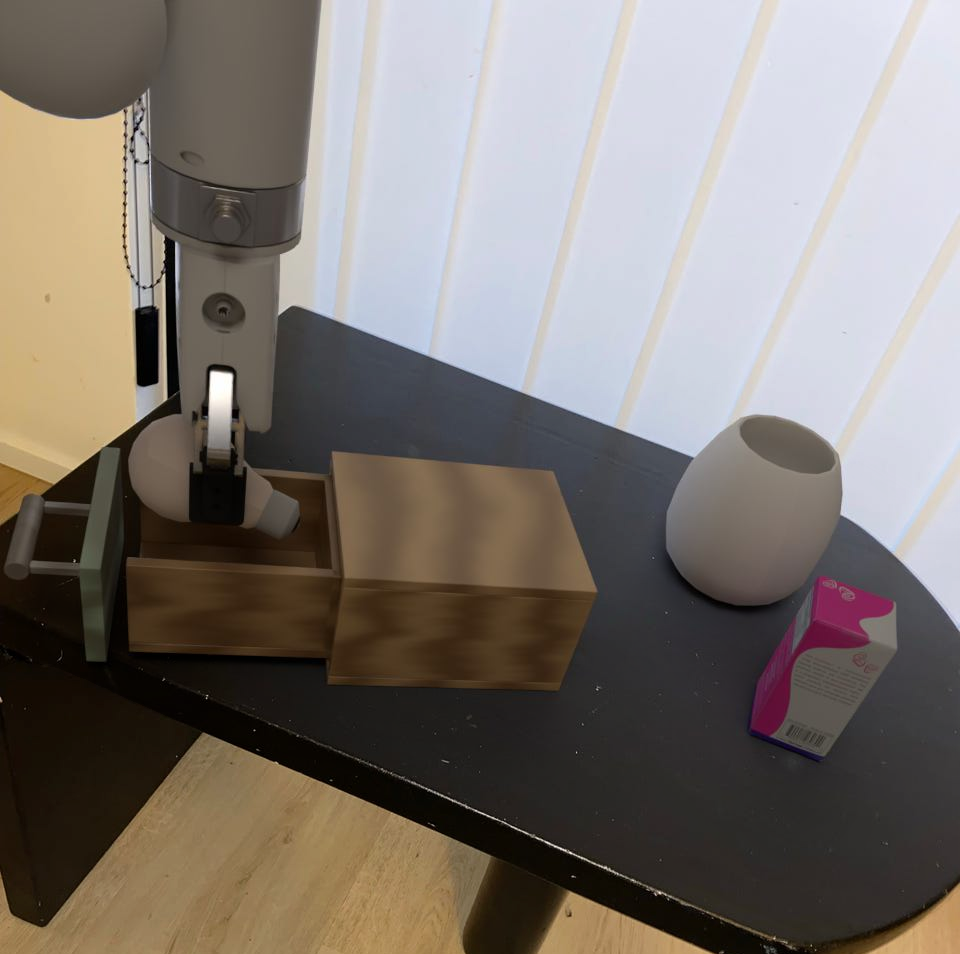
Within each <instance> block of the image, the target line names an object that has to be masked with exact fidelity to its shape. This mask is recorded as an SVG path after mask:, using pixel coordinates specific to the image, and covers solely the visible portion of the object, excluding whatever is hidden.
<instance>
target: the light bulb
mask: <svg viewBox="0 0 960 954" xmlns="http://www.w3.org/2000/svg"><path fill="white" fill-rule="evenodd" d="M207 439H208V430H206V429H204V446H207ZM231 448H234V450H235V447H234V446H233V445H232V443H231ZM127 459H128V474H129V479H130V483H131V488H132V490H133V491H134V493H135V494H136V495H137V497H138V498H139V500H140V499H141V501H142V502H143V503H144V504H145V505H146V506H147V507H149V508H150V509H152V510H153V511H155V512H156V513H157V514H159V515H160V516H162V517H165V518H168V519H172V520H175V521H179V522H191V521H190V520H189V465H190V462H193V461H194V423H193V427H191V426H189V425H188V424H187V423H186V422H185V421H184V420H183V419H182V413H179V414H178V413H173V414H170V415H168V416H164V417H161V418H158V419H155V420H153V421H152V422H150V424H148V425H147V426H146V427H145V428H143V429H142V431H141V432H140V433H139V435H138V436H137V437H136V438H135V440H134V441H133V443H132V445H131V449H130V453H129V456H128V458H127ZM243 467H247V480H246V497H245V513H244V523H243V524H242V525H240V527H243V528H246V529H249V528H253V527H255V528H256V529H258V530H260V531H262V532H264V533H266V534H268V535H270V536H272V537H274V538H276V539H278V540H280V539H282V538H284V537H285V536H287V535H289V534H291V533H293V532H294V531H295V530H296V528H298V527H299V525H300V523H299V522H300V511H299V503H298V501H296V500H294V499H292V498H290V497H289V496H287V495H285V494H283V493H281V492H279V491H277V490H273V488H272V486H271V484H270V482H269V481H267V480H266V479H264V478H263V477H261V476H260V475H258V474H257V473H255V472H254V471H253V470H252V468H253V467H251V466H250V464H248V462H247V461H246V460H245V459H244V461H243Z"/></svg>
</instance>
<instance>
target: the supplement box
mask: <svg viewBox="0 0 960 954" xmlns="http://www.w3.org/2000/svg"><path fill="white" fill-rule="evenodd" d="M897 634H898V633H897V602H896V601H893V600H892V599H891V600H890V599H888V598H885V597H882V596H880V595H877V594H875V593H871V592H869V591H866V590H863V589H860V588H857V587H855V586H852V585H849V584H847V583H844V582H841V581H838V580H835V579H833V578H830V577H827V576H825V575H822V574H820V575H818V577H816V579H815V581H814V583H813V585H812V587H811V588H810V590H809V592H808V593H807V594H806V597H805V598H804V601H803V602H802V604H801V606H800V607H799V608H798V611H797V613H796V614H795V616H794V618H793V619H792V621H791V623H790V625H789V626H788V628H787V630H786V632H785V634H784V636H783V637H782V639H781V641H780V643H779V644H778V646H777V648H776V649H775V650H774V653H773V654H772V657H771V658H770V660H769V662H768V663H767V665H766V667H765V669H764V671H763V672H762V674H761V676H760V677H759V679H758V681H757V683H756V684H755V688H754V689H755V690H754V695H753V700H752V706H751V712H750V717H749V724H748V731H747V732H748V733H747V734H748V735H751V736H753V737H756V738H758V739H761V740H763V741H766V742H768V743H771V744H774V745H776V746H779V747H781V748H784V749H786V750H789V751H792V752H793V753H797V754H799V755H802V756H804V757H807V758H809V759H812V760H814V761H817V762H820V763H822V761H823V760H824V758H825V757H826V756H827V755H828V753H829V752H830V750H831V749H832V747H833V745H834V744H835V743H836V741H837V739H838V738H839V737H840V736H841V734H842V732H843V731H844V730H845V728H846V727H847V725H848V724H849V722H850V721H851V719H852V718H853V716H854V715H855V714H856V712H857V710H858V709H859V707H860V706H861V704H862V703H863V701H864V700H865V698H867V695H868V694H869V693H870V691H871V690H872V688H873V686H874V685H875V683H876V682H877V681H878V679H879V678H880V677H881V675H882V674H883V672H884V670H885V669H886V667H887V666H889V665H888V664H890V662H891V661H892V659H893V657H894V656H895V654H896V653H897V651H898V637H897Z"/></svg>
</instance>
